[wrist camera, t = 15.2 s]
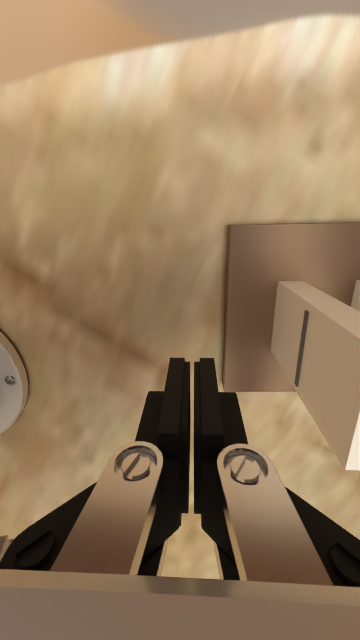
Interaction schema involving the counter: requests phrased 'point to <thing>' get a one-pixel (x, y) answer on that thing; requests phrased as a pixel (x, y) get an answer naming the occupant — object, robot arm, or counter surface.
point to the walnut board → (261, 288)
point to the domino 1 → (322, 362)
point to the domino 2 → (356, 296)
